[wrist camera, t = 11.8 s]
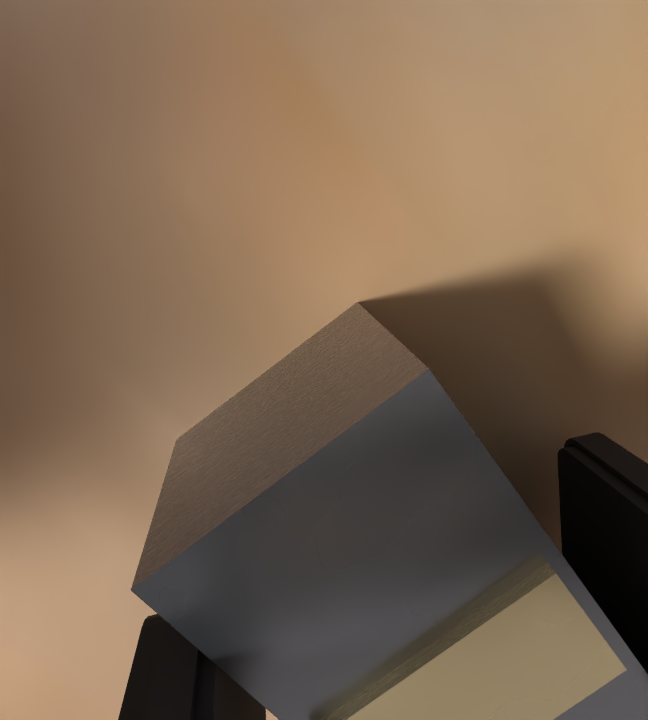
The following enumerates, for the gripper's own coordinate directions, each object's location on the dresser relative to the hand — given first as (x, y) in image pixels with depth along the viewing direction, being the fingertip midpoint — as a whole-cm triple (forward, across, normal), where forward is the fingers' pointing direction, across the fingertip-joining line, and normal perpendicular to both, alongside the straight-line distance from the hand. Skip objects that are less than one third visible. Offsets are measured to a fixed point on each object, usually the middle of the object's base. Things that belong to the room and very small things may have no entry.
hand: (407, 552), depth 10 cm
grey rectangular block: (+1, 0, 0) cm, 1 cm away
